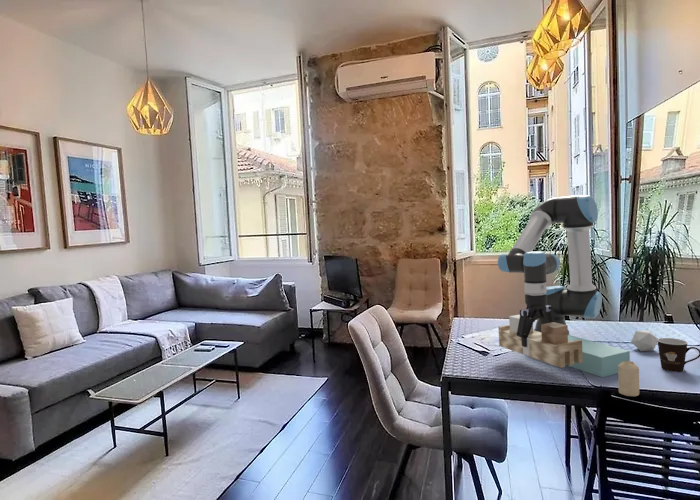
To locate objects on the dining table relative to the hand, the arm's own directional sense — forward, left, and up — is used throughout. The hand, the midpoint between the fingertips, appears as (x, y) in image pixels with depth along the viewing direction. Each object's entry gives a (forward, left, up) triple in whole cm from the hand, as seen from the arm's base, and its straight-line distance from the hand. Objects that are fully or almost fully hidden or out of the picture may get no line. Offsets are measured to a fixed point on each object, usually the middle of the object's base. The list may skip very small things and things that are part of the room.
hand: (537, 352), depth 162 cm
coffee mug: (+25, +39, -7) cm, 47 cm away
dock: (0, +19, -6) cm, 20 cm away
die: (+5, +52, -7) cm, 52 cm away
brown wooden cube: (+8, 0, +6) cm, 10 cm away
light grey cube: (-8, 0, +6) cm, 10 cm away
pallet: (0, 0, 0) cm, 0 cm away
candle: (+30, +7, -7) cm, 31 cm away
